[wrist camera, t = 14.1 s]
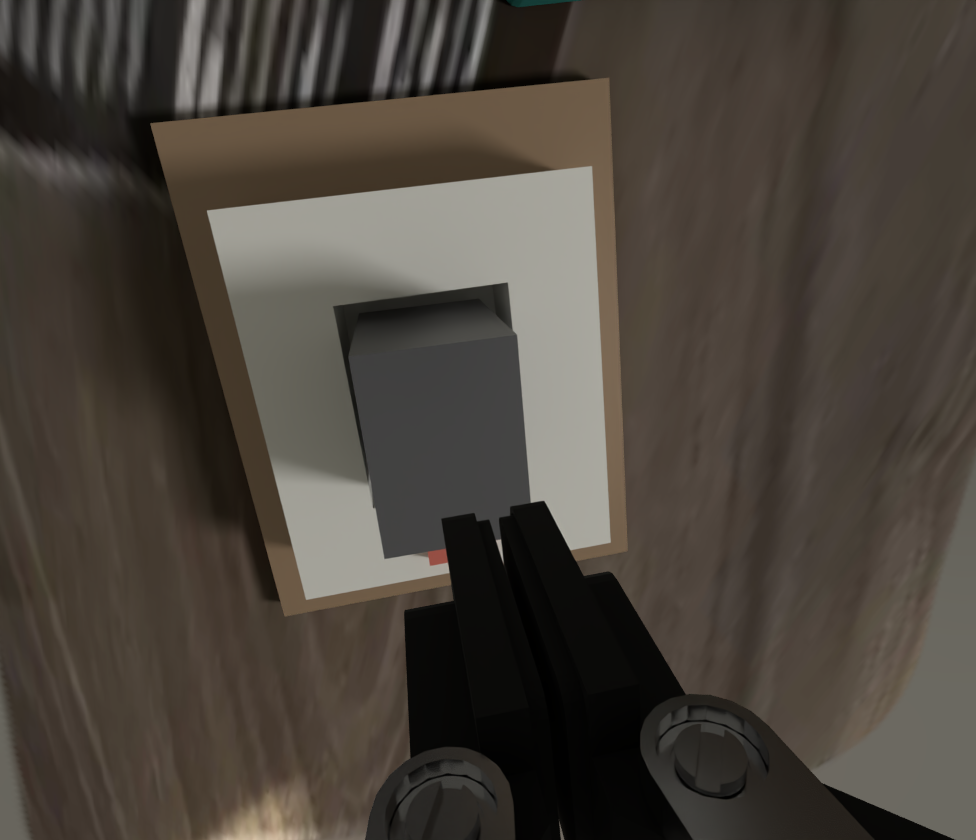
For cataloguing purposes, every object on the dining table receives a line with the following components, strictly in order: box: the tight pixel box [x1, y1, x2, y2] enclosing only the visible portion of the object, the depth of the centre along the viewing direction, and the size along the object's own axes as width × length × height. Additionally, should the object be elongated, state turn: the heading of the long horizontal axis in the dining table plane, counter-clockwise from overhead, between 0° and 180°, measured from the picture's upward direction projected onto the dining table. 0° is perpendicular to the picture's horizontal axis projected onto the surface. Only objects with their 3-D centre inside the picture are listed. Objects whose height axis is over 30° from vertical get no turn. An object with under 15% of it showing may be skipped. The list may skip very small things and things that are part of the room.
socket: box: [150, 78, 628, 616], centre depth 23 cm, size 20×16×5 cm
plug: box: [348, 299, 531, 559], centre depth 21 cm, size 6×4×8 cm
